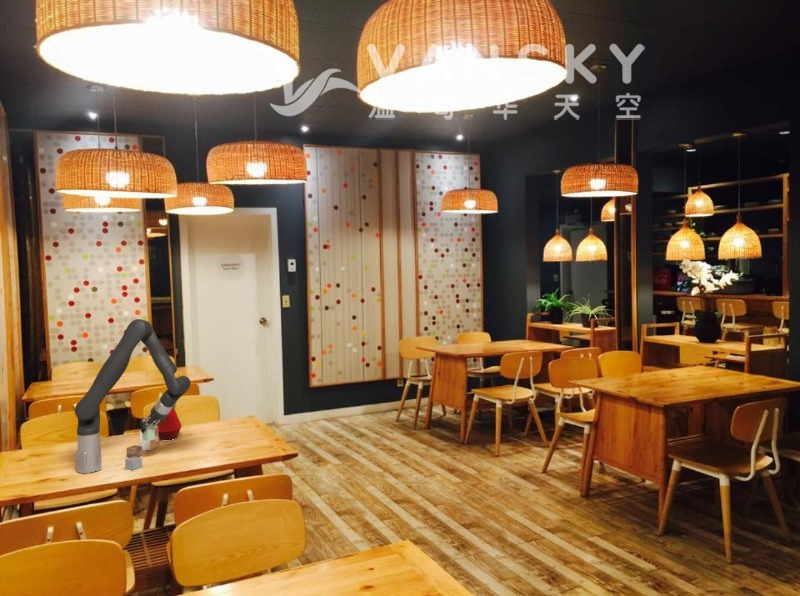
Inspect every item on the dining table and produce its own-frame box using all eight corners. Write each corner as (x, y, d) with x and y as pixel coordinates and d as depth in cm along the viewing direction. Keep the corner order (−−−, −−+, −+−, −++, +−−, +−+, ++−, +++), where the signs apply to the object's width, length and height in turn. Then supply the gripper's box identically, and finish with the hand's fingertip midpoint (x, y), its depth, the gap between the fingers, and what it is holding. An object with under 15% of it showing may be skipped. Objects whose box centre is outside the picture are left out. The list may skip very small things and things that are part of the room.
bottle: (162, 434, 348) (160, 398, 347) (186, 434, 348) (185, 398, 346) (149, 442, 332) (148, 405, 331) (175, 442, 332) (173, 404, 331)
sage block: (148, 441, 300) (147, 426, 299) (142, 440, 302) (142, 425, 301) (155, 439, 303) (154, 424, 303) (149, 438, 305) (149, 423, 305)
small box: (150, 451, 318) (149, 430, 317) (140, 450, 319) (139, 430, 318) (159, 446, 326) (158, 426, 325) (149, 446, 327) (148, 425, 326)
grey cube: (132, 471, 286) (132, 461, 286) (125, 470, 288) (125, 459, 288) (142, 468, 290) (141, 457, 290) (135, 467, 293) (134, 456, 293)
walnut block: (133, 459, 305) (133, 448, 305) (126, 457, 308) (126, 447, 307) (142, 456, 310) (142, 446, 309) (135, 454, 312) (135, 444, 312)
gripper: (170, 398, 304) (154, 421, 311) (145, 404, 292) (129, 427, 298) (178, 410, 302) (161, 433, 308) (154, 417, 289) (137, 440, 296)
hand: (145, 430), depth 303 cm, fingers closed on sage block, 4 cm apart
